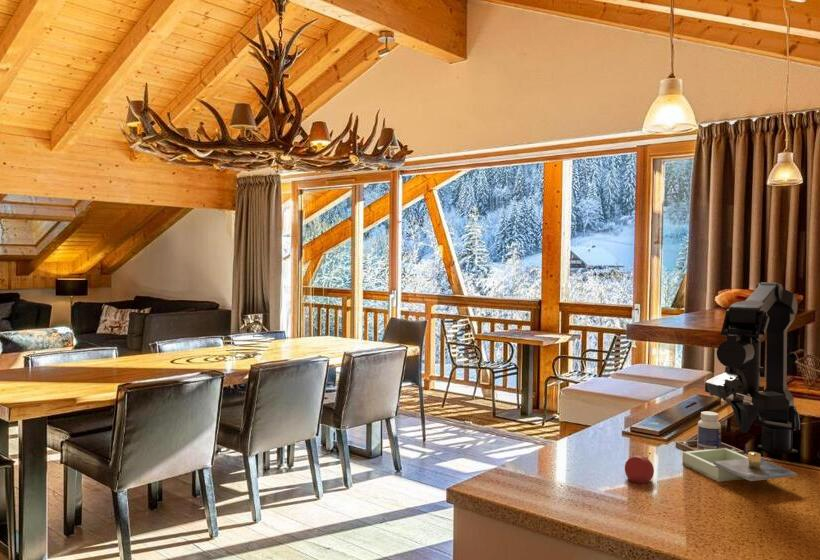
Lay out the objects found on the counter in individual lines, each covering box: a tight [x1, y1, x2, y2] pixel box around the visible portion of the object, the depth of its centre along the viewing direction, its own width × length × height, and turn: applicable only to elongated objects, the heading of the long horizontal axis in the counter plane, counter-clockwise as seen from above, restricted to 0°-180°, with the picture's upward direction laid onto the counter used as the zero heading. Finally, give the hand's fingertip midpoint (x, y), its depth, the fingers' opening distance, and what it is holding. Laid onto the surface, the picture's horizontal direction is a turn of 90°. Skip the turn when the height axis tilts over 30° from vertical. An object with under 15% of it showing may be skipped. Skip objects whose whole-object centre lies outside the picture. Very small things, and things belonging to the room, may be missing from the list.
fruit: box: [624, 452, 655, 484], centre depth 145 cm, size 6×6×8 cm
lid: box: [713, 451, 798, 482], centre depth 141 cm, size 12×11×4 cm
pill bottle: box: [696, 410, 722, 450], centre depth 164 cm, size 5×5×10 cm
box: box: [682, 448, 748, 483], centre depth 150 cm, size 12×12×3 cm
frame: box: [675, 439, 745, 456], centre depth 164 cm, size 11×11×1 cm
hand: (743, 432), depth 143 cm, fingers closed
